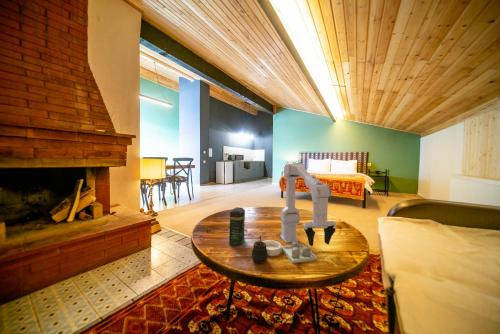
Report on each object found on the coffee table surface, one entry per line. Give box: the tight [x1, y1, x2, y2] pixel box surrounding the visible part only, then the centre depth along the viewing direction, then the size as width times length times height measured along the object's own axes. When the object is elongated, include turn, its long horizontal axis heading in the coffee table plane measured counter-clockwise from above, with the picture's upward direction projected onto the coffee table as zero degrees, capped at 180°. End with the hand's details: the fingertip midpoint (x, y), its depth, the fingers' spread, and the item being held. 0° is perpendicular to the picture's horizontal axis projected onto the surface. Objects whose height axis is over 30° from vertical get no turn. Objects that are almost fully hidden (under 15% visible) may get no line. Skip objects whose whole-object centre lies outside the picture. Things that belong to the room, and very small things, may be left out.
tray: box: [282, 243, 318, 264], centre depth 90 cm, size 13×12×2 cm
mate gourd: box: [251, 235, 269, 264], centre depth 84 cm, size 7×8×10 cm
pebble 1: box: [292, 247, 300, 259], centre depth 86 cm, size 4×4×4 cm
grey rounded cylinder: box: [291, 241, 300, 248], centre depth 92 cm, size 4×4×4 cm
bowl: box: [263, 239, 283, 257], centre depth 94 cm, size 10×10×3 cm
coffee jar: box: [228, 207, 246, 246], centre depth 102 cm, size 10×8×19 cm
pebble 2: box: [302, 245, 312, 258], centre depth 88 cm, size 4×4×4 cm
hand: (318, 244), depth 79 cm, fingers open, 7 cm apart
